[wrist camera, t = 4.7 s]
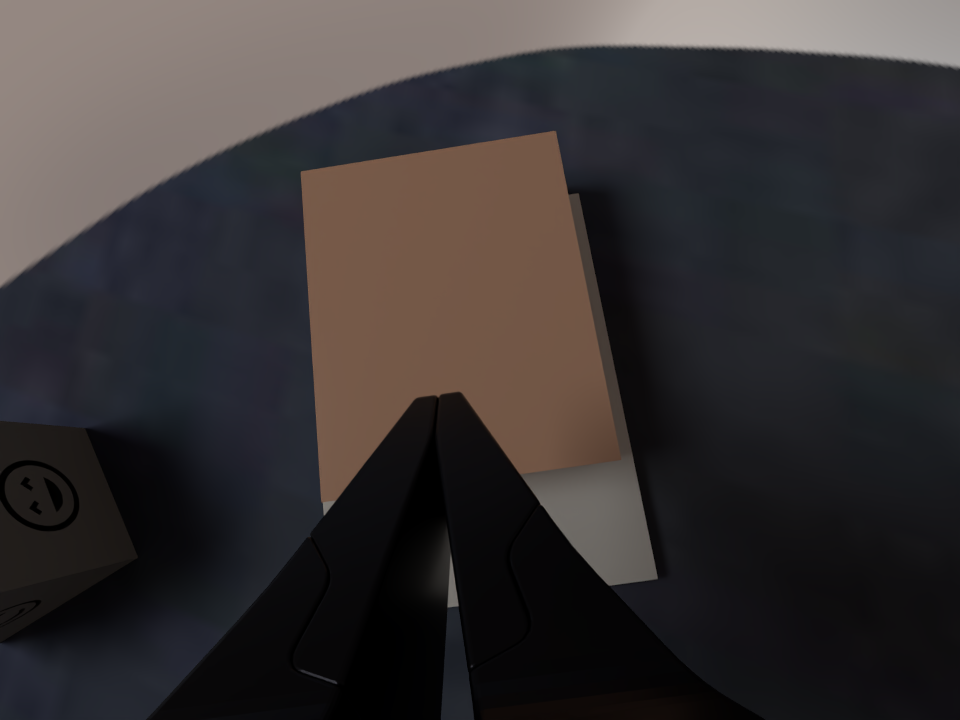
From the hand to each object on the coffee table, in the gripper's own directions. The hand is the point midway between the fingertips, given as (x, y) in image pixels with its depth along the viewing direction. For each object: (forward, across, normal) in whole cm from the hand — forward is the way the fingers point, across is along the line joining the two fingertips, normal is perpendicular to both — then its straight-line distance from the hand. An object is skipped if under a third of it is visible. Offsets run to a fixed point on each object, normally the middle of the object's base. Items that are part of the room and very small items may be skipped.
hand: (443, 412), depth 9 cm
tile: (+3, 0, +5) cm, 6 cm away
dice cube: (+5, +15, +6) cm, 17 cm away
